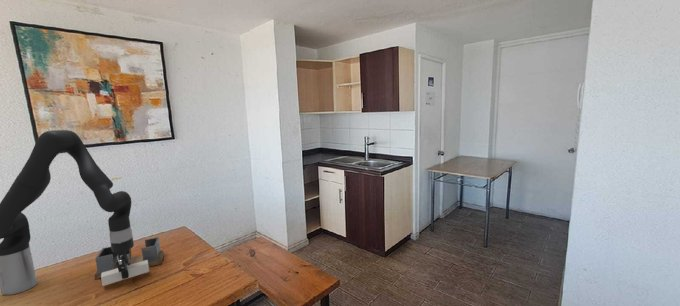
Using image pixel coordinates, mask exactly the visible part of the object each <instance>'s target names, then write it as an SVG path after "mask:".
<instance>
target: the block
mask: <svg viewBox="0 0 680 306" xmlns="http://www.w3.org/2000/svg"><path fill="white" fill-rule="evenodd" d="M122 268H124V267H122ZM146 273H150V266H148V260H145V261H141V262H138V263H134V264H131V265H128V274H129V277H128V278H125V279H122V275H121V272H119V270H118V268H117V269H113V270H110V271H106V272H103V273H102V274H101V278H100V279H101V284H102V285H101V286H102V287H104V286H107V285H110V284H114V283H117V282H120V281H122V280H123V281H124V280H126V279H130V278H133V277H136V276H139V275H143V274H146Z"/></svg>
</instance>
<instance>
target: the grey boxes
mask: <svg viewBox="0 0 680 306" xmlns="http://www.w3.org/2000/svg"><path fill="white" fill-rule="evenodd" d="M144 243H145V247H141V255H143V261H145V260H148V263H149V262H153V261H157V260H158V259H159V255H160V252H161V250H162V249H161V244H160V243H161V242H160V237H158V236H157V237H153V238H148V239H145V240H144ZM117 255H118V253H116V252H112V250H111V246H107V247H102V249H100V251H99V252H98V254H97V255H96V257H95V263H96V270H97V271H98V274H101V273H103V272H106V271H110V270H113V269H115V268H116V266H117V263H116V261H117V260H118V259H117ZM97 271H96V272H97Z"/></svg>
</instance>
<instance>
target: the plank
mask: <svg viewBox="0 0 680 306" xmlns="http://www.w3.org/2000/svg"><path fill="white" fill-rule="evenodd" d="M164 255H165V251H164V249H161V252H160V255H159V259H158V260H157V261H153V262H149V263H148V266H149V267H152V266H153V267H154V266H156V265H161V264H162V263H163V260H164ZM131 258H132V259H131V263H130V265H131V264H134V263H138V262H141V261H143V255H142V254H140V255H139V254H138V255H133V256H131ZM117 268H118V267H117V266H116V268H115V269H117ZM101 274H102V273H101ZM101 274H98V271H96V272H95V274H94V279H95V280H98V279H101Z"/></svg>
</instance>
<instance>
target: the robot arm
mask: <svg viewBox="0 0 680 306" xmlns="http://www.w3.org/2000/svg"><path fill="white" fill-rule="evenodd" d="M66 153H67V154H68V155H69V156H70V157H71V158H73V159H74V161H75V162H76V165H77V168H78V173H79V176H80V179H81V180H82V181H83V183H84V184H85V185H86V187H88V188H89V189H90V190H91V191H92V193H93V195H94V197H95V199H96V202H97V203H98V206H99V207H100V209H102V210H103V211H105V212H106V213H113V214H112V215H111V216H110V217H109V218H108V220H107V221H108V223H107V224H108V230H109V231H108V232H109V241H110V247H111V250H112V252H116V253H118V255H117V259H118V260H117V261H116V263H117V267H118V270H119V272H121V275H122V279H124V280H126V279H125V278H127V279H129V278H128V277H129V274H128V265H130V263H131V259H132V258H131V257H132V248H133V247H134V245H135V244H134V237H133V230H132V228H131V227H132V226H131V222H130V219H131V218H130V214H131V209H132V198H131V195H130V194H129V193H128V192H127V191H124V190H120V191H117V192H114V193H112V192H111V189H112V188H113V187H114V183H113V181H112V180H111V179H110V178H109V177H108V176H107V175H106V174H105V172H103V170H102V169H101V167H100V166H98V164H97V163H96V161H95V160H94V158H93V156H92V155H91V153H90V151H88V149H87V146H85V144H84V142H83V141H82V139H81V138H80V136H79V135H78V134H77V133H76V132H75V131H73V130H69V129H68V130H67V129H58V130H48V131H45V132H44V131H43V133H41V134H40V135H39V136H38V137H37V140H36V142H35V144H34V145H33V149H32V150H31V152H30V155H29V157H28V158H27V160H26V162H25V164H24V166H23V167H22V168H21V170H20V171H19V174H17V176H16V178H15V179H14V181H13V182H12V184H11V186H10V188H9V189H8V191H7V192H6V194H5V195H4V196H3V198H2V200H1V201H0V240H2V241H1V242H0V293H1V296H5V295H6V296H11V295H12V296H13V295H15V294H19V293H23V292H26V291H28V290H31V289H32V288H33V287H35V286H36V285H37V284H38V278H37V274H36V270H35V265H34V260H33V256H32V255H33V254H32V252H31V246H30V242H31V231H30V224H29V220H28V217H27V216H26V214H24V213H23V211H24V210H25V209H27V208H28V207H29V206H31V204H33V203H34V202H35V201H37V200H38V199H39V198H40V197H41V196H42V195H43V193H44V192H45V191H46V189H47V187H48V186H49V184H50V183H51V171H50V166H51V165H52V162H53V161H54V160H55V158H56V157H57V156H58V155H59V154H66ZM122 267H124V268H122Z"/></svg>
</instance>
